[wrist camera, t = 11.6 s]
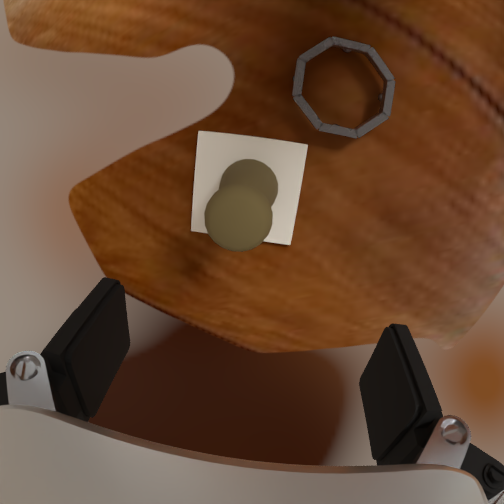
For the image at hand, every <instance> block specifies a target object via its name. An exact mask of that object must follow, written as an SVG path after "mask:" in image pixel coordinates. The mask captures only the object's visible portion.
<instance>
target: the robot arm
mask: <svg viewBox="0 0 504 504" xmlns="http://www.w3.org/2000/svg"><path fill="white" fill-rule="evenodd" d="M129 346H130V337H129V329H128V321H127V311H126V301H125V290H124V286H123V285H120V282H119V281H118V280H115V279H110V278H103V279H102V280H101V281H100V282H99V283H98V284H97V285H96V287H95V288H94V289H93V290H92V291H91V293H90V294H89V295H88V296H87V297H86V299H85V300H84V301H83V302H82V303H81V305H80V306H79V307H78V308H77V309H76V310H75V311H74V312H73V313H72V314H71V315H70V317H69V318H68V319H67V320H66V322H65V323H64V324H63V325H62V327H61V328H60V329H59V330H58V332H57V333H56V334H55V336H54V337H53V338H52V339H51V341H50V342H49V343H48V345H47V346H46V348H45V349H44V350H43V351H42V353H41V354H38V353H36V352H32V351H23V352H20V353H17V354H16V355H14V356H13V357H12V358H11V359H10V360H9V361H8V363H7V366H6V372H3V373H0V504H504V466H503V465H502V464H501V463H500V462H499V461H497V460H496V459H494V458H493V457H491V456H489V455H488V454H486V453H485V452H483V451H482V450H480V449H479V448H477V447H476V446H474V445H473V444H471V443H470V441H471V431H470V429H469V427H468V425H467V424H466V423H465V421H463V420H462V419H461V418H459V417H457V416H452V415H447V416H444V417H443V415H442V412H441V411H442V409H441V406H440V404H439V401H438V398H437V396H436V393H435V390H434V388H433V385H432V383H431V380H430V378H429V375H428V373H427V370H426V368H425V366H424V363H423V361H422V358H421V356H420V354H419V351H418V349H417V347H416V345H415V342H414V340H413V338H412V336H411V333H410V331H409V329H408V327H407V326H406V325H401V324H391V325H390V326H389V327H386V328H385V329H384V331H383V333H382V335H381V337H380V339H379V341H378V344H377V346H376V348H375V350H374V352H373V354H372V356H371V358H370V360H369V362H368V364H367V366H366V368H365V370H364V372H363V374H362V375H361V378H360V382H359V386H360V391H361V396H362V401H363V407H364V412H365V417H366V422H367V428H368V434H369V440H370V446H371V452H372V457H373V459H374V460H376V461H377V466H308V465H290V464H279V463H268V462H258V461H250V460H242V459H235V458H228V457H222V456H216V455H210V454H205V453H199V452H194V451H189V450H185V449H180V448H175V447H171V446H167V445H162V444H159V443H155V442H150V441H147V440H143V439H140V438H136V437H133V436H129V435H126V434H122V433H119V432H116V431H113V430H110V429H106V428H103V427H100V426H97V425H94V424H91V423H88V420H89V418H90V417H94V416H95V415H96V413H97V411H98V409H99V407H100V404H101V403H102V401H103V398H104V397H105V395H106V393H107V390H108V389H109V386H110V385H111V382H112V381H113V379H114V377H115V374H116V373H117V371H118V369H119V367H120V365H121V363H122V361H123V359H124V357H125V356H126V354H127V352H128V350H129Z"/></svg>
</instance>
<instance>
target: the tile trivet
mask: <svg viewBox="0 0 504 504" xmlns="http://www.w3.org/2000/svg"><path fill="white" fill-rule="evenodd" d="M307 148H308V144H303V143H297V142H290V141H284V140H277V139H270V138H263V137H256V136H248V135H239V134H231V133H221V132H211V131H198V141H197V152H196V164H195V176H194V190H193V205H192V222H191V231H195V232H202V233H208V232H207V229H206V227H205V218H204V212H205V209H206V205H207V203H208V201H209V200H210V198H211V197H212V196H213V194H214V193H215V192H216V191H218V190H219V185H220V181H221V178H222V174H223V173H224V172H225V170H226V169H227V168H228V167H229V166H230V165H231V164H233V163H234V162H236V161H239V160H243V159H255V160H258V161H260V162H263V163H264V164H266V165H267V166H268V167H270V168H271V170H272V171H273V172H274V174H275V175H276V178H277V182H278V194H277V197H276V199H275V202H274V204H273V205H272V207H271V209H272V212H273V219H272V227H271V230H270V232H269V235H268V236H267V237H266V238H265V239H264V241H265V242H272V243H279V244H286V245H290V244H291V239H292V234H293V228H294V223H295V217H296V212H297V206H298V201H299V195H300V189H301V184H302V178H303V172H304V166H305V160H306V154H307Z"/></svg>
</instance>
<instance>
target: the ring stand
mask: <svg viewBox="0 0 504 504" xmlns="http://www.w3.org/2000/svg"><path fill="white" fill-rule="evenodd" d="M330 47H337V48H341V49H342V50H343V51H344V52H346V53H349V52H351V51H354V52H358V53H362V54H365V55H366V57H367V58H368V59H369V61H370V62H371V64H372V65H373V66H374V68H375V69H376V71H377V72H378V74H379V75H380V76H381V78H382V79H383V81H384V84H383V91H382V93H380V94H379V95H378V100H379V101H380V102H381V104H380V110H379V113H377V114H375V115H374V116H372V117H371V118H369V119H368V120H366V121H365V122H363V123H362V124H360V125H359V126H357V127H356V128H354V129H350V128H346V127H341V126H339V125H337V124H333V125H331V124H326V123H322V122H321V120H320V119H319V118H318V116H317V115H316V114H315V112H314V111H313V110H312V108H311V107H310V106H309V104H308V103H307V102H306V100H305V99H304V98H303V96H302V95H301V93H302V86H303V80H304V72H305V64H306V62H308V61H309V60H311V59H313V58H314V57H316V56H317V55H319V54H320V53H322V52H324V51H325V50H327V49H328V48H330ZM393 79H395V78H394V77H393V75H392V74H391V72H390V71H389V69H388V68H387V66H386V65H385V63H384V62H383V60H382V59H381V58H380V56H379V55H378V54H377V52H376V51H375V49H374V48H373V47H372V48H370V45H367V44H363V43H359V42H355V41H351V40H347V39H342V38H338V37H332V38H331V37H329V38H327V39H326V40H324V41H322V42H321V43H319V44H318V45H316V46H314V47H313V48H311V49H310V50H308V51H306V52H305V53H303V54H302V55H300V56H299V57H298V59H297V62H296V69H295V75H294V77H293V82H294V83H293V91H292V96H295V97H294V98H293V100H294V101H295V102H296V104H297V105H298V106H299V107H300V109H301V110H302V111H303V113H304V114H305V115H306V117H307V118H308V119H309V121H310V122H311V123H312V125H313V126H314V127H315V129H318V130H319V131H323V132H328V133H333V134H336V135H337V134H338V135H343V136H348V137H352V138H357V137H358V138H360V137H361V136H363V135H364V134H366V133H367V132H369V131H370V130H372V129H373V128H375V127H376V126H378V125H379V124H381V123H382V122H384V121H385V120H387V119H389V118H388V116H390V114H391V107H392V101H393V95H394V88H395V81H394V80H393Z"/></svg>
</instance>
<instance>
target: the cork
mask: <svg viewBox="0 0 504 504" xmlns="http://www.w3.org/2000/svg"><path fill="white" fill-rule="evenodd" d="M277 194H278V182H277V178H276V175H275V174H274V172H273V171H272V170H271V168H270V167H268V166H267V165H266V164H264V163H263V162H260V161H258V160H255V159H243V160H239V161H236V162H234V163H233V164H231V165H230V166H229V167H228V168H227V169H226V170H225V172H224V173H223V174H222V178H221V181H220V185H219V190H218V191H216V192H215V193H214V194H213V196H212V197H211V198H210V200H209V201H208V203H207V205H206V209H205V212H204V218H205V227H206V229H207V232H208V234H209V236H210V237H211V238H212V240H213V241H214V242H215V243H217V244H218V245H219V246H221V247H222V248H225V249H228V250H231V251H241V252H243V251H247V250H251V249H253V248H255V247H256V246H258V245H260V244H261V243H262V242H263V241H264V239H265V238H266V237H267V236H268V235H269V232H270V230H271V227H272V219H273V212H272V209H271V207H272V205H273V204H274V202H275V199H276V197H277Z"/></svg>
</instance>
